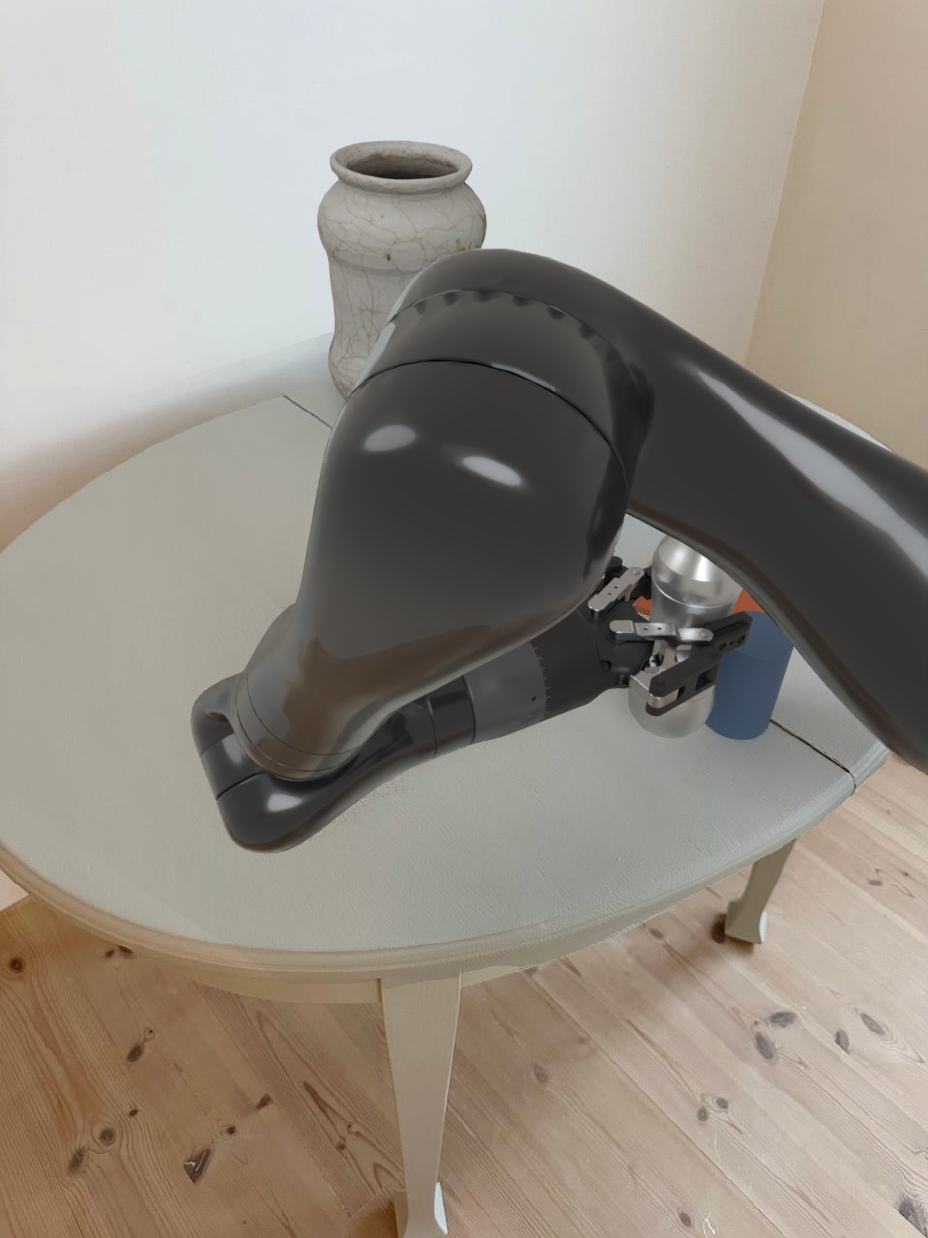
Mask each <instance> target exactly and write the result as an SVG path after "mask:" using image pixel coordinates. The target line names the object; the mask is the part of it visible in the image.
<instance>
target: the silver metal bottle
mask: <svg viewBox="0 0 928 1238" xmlns="http://www.w3.org/2000/svg"><path fill="white" fill-rule="evenodd" d="M651 564H652V585H651V608H650V615H648V621H649V622H650V623H673V624H675V626H676V627H677V628H704V625H706V624H709V623H711V622H714V621H717V620H719V619H722V618H725V617H728V616H730V614H731V612H732V610H733V608H734V606H735V604H736V601H737V599H738V597H739V595H740V592H741V591H742V587H740V586H739V585H738V584H737V583H736V582H735V581H734V580H733V579H732V578H731V577H729V576H728V575H727V574H726V573H725V572H724V571H722V570H721V569H720V568H718V567H717V566H716V565H714V564H713V563H712V562H710V561H709V560H708V559H706V558H705V557H704V556H702V555H701V554H699V553H697V552H696V551H694V550H693V549H691V548H690V547H688V546H686V545H685V544H683V543H682V542H680V541H678V540H676V539H674V538H672V537H670V536H668V535H666V534H665V535H664V536H663V537H662V538H661V540H660V542H659V543H658V545H657V547H656V549H655V551H654V552H653V556H652V562H651ZM661 642H662V641H661V640H655V645H654V650H653V654H652V655H655V654H657V653H658V652H659V651H660V647H661ZM691 646H692V645H681V646H679V647H677V650H691ZM714 695H715V685H713V686H712V687H710V688H708V689H706V690H705V691H703V692H701V693H699V694H698V695H696V696H694V697H692V698H691V699H689V700H687V701H685V702H684V703H682V704H680V705H678V706H677V707H675V708H673V709H671V710H670V711H668V712H666V713H664V714H663V715H661V716H651V715H649V714H648V713H647V712H646V710H645V707H646V702H647V700H646V699H644V698H643V697H642V696H641V695H640V694H638V693H637V692H636V691H635V690H634V689H632V688H631V687H630V688H627V699H628V700H627V702H628V709H629V712H630V713H631V715H632V716H633V718H634V719H635V721H636V722H637V724H638V725H639V726H640V727H641V728H642V729H643V730H645V731H646V732H648V733H650V734H651V735H653V736H657V737H660V738H664V739H681V738H684V737H687V736H689V735H691V734H693V733H696V732H698V730H700V729H702V728H703V726H704V725H705V724H706V723H705V722H706V720H707V718H708V716H709V714H710V713H711V711H712V708H713V706H714Z"/></svg>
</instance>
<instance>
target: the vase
mask: <svg viewBox="0 0 928 1238" xmlns="http://www.w3.org/2000/svg"><path fill="white" fill-rule="evenodd" d="M329 166H330V170H331V171H332V173H334V175H335V176H336V177H337V178H338V179H337V181H335V182H334V183H333V184H332V185H331V187H329V188H328V190H327V191H326V192H325V194H324V195H323V197H322V199H321V201H320V203H319V205H318V210H317V216H316V217H317V218H316V219H317V220H316V223H317V226H316V227H317V231H318V236H319V239H320V243H321V245H322V247H323V250H324V251H325V253H326V256H327V263H328V270H329V271H328V273H329V281H330V282H329V283H330V290H331V297H332V304H333V316H334V317H333V319H334V334H333V336H332V340H331V343H330V346H329V350H328V358H327V359H328V363H327V365H328V370H329V373H330V377H331V381H332V382H333V384H334V387H335V389H336V391H337V392H338V393H339V395H340V396H341V397H342V399H343V400H344V402H346V401H347V399H348V397H349V395H350V393H351V391H352V389H353V387H354V385H355V383H356V381H357V379H358V377H359V375H360V373H361V371H362V369H363V367H364V365H365V363H366V361H367V359H368V357H369V355H370V353H371V351H372V349H373V347H374V345H375V342H376V339H377V337H378V335H379V333H380V331H381V330H382V328H383V326H384V324H385V322H386V320H387V318H388V317H389V315H390V313H391V311H392V309H393V307H394V305H395V303H396V301H397V299H398V298H399V296H400V294H401V293H402V291H403V290H404V289H405V287H406V286H407V285H408V284H409V282H410V281H411V280H412V279H413V278H414V277H415V275H416V274H418V273H419V272H420V271H421V270H422V269H423V268H425V267H426V266H428V265H430V264H431V263H433V262H435V261H437V260H439V259H441V258H443V257H445V256H447V255H450V254H455V253H459V252H463V251H467V250H472V249H482V248H483V244H484V242H485V239H486V235H487V226H488V220H487V213H486V210H485V206H484V205H483V202H482V200H481V198H480V197H479V196H478V195H477V194H476V192H475V190H474V189H473V188H472V187H471V186H470V185H469V184H467V182H466V181H467V179H468V178H469V177H470V175H471V172H472V171H473V162H472V160H471V158H470V157H469V156H468V155H467V154H465V153H464V152H462V151H460V150H459V149H457V148H453V147H449V146H446V145H442V144H436V143H430V142H421V141H414V140H375V141H374V140H373V141H372V140H371V141H361V142H356V143H352V144H348V145H344V146H343V147H340V148H338V149H336V150H335V151H334V152H333V153H331V155H330V156H329Z"/></svg>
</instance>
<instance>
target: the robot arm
mask: <svg viewBox="0 0 928 1238" xmlns="http://www.w3.org/2000/svg"><path fill="white" fill-rule="evenodd" d="M314 500H315V501H314V505H313V511H312V518H311V523H310V529H309V534H308V539H307V545H306V552H305V557H304V564H303V570H302V574H301V579H300V586H299V590H298V593H297V596H296V599H295V602H294V603H292V604H290V605H288V606H287V607H286V608H285V609H284V610H283V611H282V612H281V613H280V614H279V615H278V616H277V617H276V618H275V619H274V620H273V621H272V623H271V624H270V625H269V626H268V628H267V629H266V631H265V633H264V634H263V636H262V638H261V639H260V641H259V643H258V644H257V645H256V648H255V649H254V651H253V653H252V654H251V657H250V659H249V660H248V662H247V665H246V666H245V668H244V669H243V670H242V671H240V672H239V673H236V674H233V675H230V676H229V677H226V678H223V679H221V680H219V681H218V682H216V683H214V684H212V685H210V686H209V687H208V688H206V689H205V690H204V691H202V693H200V695H198V697H197V698H196V700H195V701H194V703H193V706H192V709H191V712H190V713H191V715H190V727H191V734H192V738H193V742H194V745H195V748H196V751H197V753H198V757H199V759H200V762H201V765H202V767H203V770H204V773H205V776H206V779H207V781H208V784H209V787H210V789H211V790H210V791H211V792H212V795H213V798H214V800H215V804H216V807H217V811H218V813H219V816H220V819H221V822H222V824H223V827H224V829H225V832H226V833H227V836H228V837H229V839H230V840H231V842H232V843H233V844H234V845H236V846H237V847H239V848H241V849H242V850H245V851H248V852H251V853H255V854H264V855H270V854H278V853H282V852H287V851H289V850H291V849H294V848H296V847H298V846H300V845H301V844H303V843H305V842H306V841H308V840H309V839H311V838H313V837H314V836H315V835H317V834H318V833H319V832H321V831H322V830H323V829H325V828H326V827H328V825H330V824H331V823H332V822H333V821H334V820H336V819H337V818H338V817H340V816H341V815H343V813H345V812H346V811H347V810H349V808H351V807H352V806H353V805H355V804H356V803H358V802H359V801H360V800H362V799H363V798H364V797H366V796H367V795H369V794H370V793H372V792H374V790H376V789H378V788H379V787H381V786H382V785H384V784H385V783H387V782H389V781H391V780H393V779H395V778H396V777H398V776H400V775H401V774H403V773H405V772H408V771H409V770H411V769H413V768H416V767H419V766H420V765H423V764H425V763H428V762H430V761H433V760H435V759H439V758H440V757H443V756H446V755H449V754H451V753H453V752H456V751H459V750H461V749H464V748H466V747H468V746H472V745H476V744H479V743H482V742H487V741H488V742H489V741H492V740H496V739H499V738H503V737H507V736H509V735H511V734H514V733H517V732H520V731H522V730H524V729H527V728H529V727H533V726H535V725H537V724H540V723H542V722H545V721H547V720H551V719H552V718H555V717H557V716H561V715H563V714H565V713H568V712H572V711H573V710H576V709H578V708H581V707H584V706H586V705H589V704H591V702H593V701H594V700H596V699H597V698H598V697H600V695H602V694H603V693H605V692H606V691H608V690H612V689H613V690H614V689H619V690H620V689H622V690H623V689H625V690H626V689H628V688H630V687H631V688H632V689H634V690H635V691H636V692H637V693H638V694H640V695H641V696H642V697H643V698H644V699H646V700H647V702H646V707H645V710H646V712H647V713H648V714H649V715H651V716H661V715H663V714H664V713H666V712H668V711H670V710H671V709H673V708H675V707H677V706H678V705H680V704H682V703H684V702H685V701H687V700H689V699H691V698H692V697H694V696H696V695H698V694H699V693H701V692H703V691H705V690H706V689H708V688H710V687H712V686H713V685H715V684H716V681H717V677H718V673H719V669H720V665H721V661H722V657H723V653H726V652H728V651H731V650H733V649H736V648H739V647H741V646H743V645H744V644H745V643H746V642H747V639H748V635H749V632H750V628H751V624H752V621H753V618H752V617H751V616H750V615H749V614H748V613H746V612H745V611H741V612H738V613H736V614H733V615H730V616H728V617H725V618H722V619H719V620H717V621H714V622H711V623H709V624H706V625H704V628H677V627H676V626H675V624H673V623H650V622H649V619H647V618H645V617H644V616H642V615H640V614H639V613H638V611H637V610H636V609H635V607H634V606H635V605H636V604H637V603H638V602H639V600H640V597H641V596H642V597H643V598H645V599H646V600H650V599H651V585H652V566H651V567H649V566H647V567H645V568H641V567H639V566H630V567H627V566H625V565H624V563H623V559H622V558H621V557H619V556H617V555H614V554H615V551H616V549H617V546H618V543H619V540H620V537H621V534H622V530H623V527H624V523H625V518H626V517H625V516H626V515H628V516H630V517H631V518H634V519H636V520H638V521H640V522H641V523H643V524H646V525H647V526H648V527H651V528H653V529H655V530H657V531H659V532H660V533H663V534H665V536H666V535H668V536H670V537H672V538H674V539H676V540H678V541H680V542H682V543H683V544H685V545H686V546H688V547H690V548H691V549H693V550H694V551H696V552H697V553H699V554H701V555H702V556H704V557H705V558H706V559H708V560H709V561H710V562H712V563H713V564H714V565H716V566H717V567H718V568H720V569H721V570H722V571H724V572H725V573H726V574H727V575H728V576H729V577H731V578H732V579H733V580H734V581H735V582H736V583H737V584H738V585H739V586H740V587H742V588H743V589H744V590H745V591H746V592H747V593H748V594H749V595H750V596H751V597H752V599H753V600H754V601H755V602H756V603H757V604H758V605H759V606H760V607H761V608H762V609H763V610H764V612H765V613H766V614H767V615H768V616H769V617H770V618H771V619H772V620H773V622H774V623H775V624H776V625H777V626H778V628H779V629H780V630H781V631H782V633H783V634H784V635H785V636H786V638H787V639H788V640H789V641H790V642H791V644H792V645H793V646H794V647H793V648H794V649H795V650H796V651H797V653H798V654H799V655H800V656H801V657H802V658H803V660H804V661H805V663H807V665H808V666H809V667H810V668H811V670H812V671H813V672H814V673H815V674H816V675H817V677H818V678H819V679H820V680H821V682H822V683H823V684H824V685H825V686H826V687H827V689H828V690H829V691H830V692H831V693H832V694H833V695H834V696H835V697H836V699H838V701H839V702H840V703H841V704H842V705H843V706H844V707H845V708H846V709H847V711H848V712H849V713H850V714H851V715H852V716H854V718H855V719H856V720H857V721H858V722H859V723H860V724H861V725H862V726H863V727H864V728H865V729H866V730H867V731H868V732H869V733H870V734H871V735H872V736H873V737H874V738H875V739H876V740H878V742H879V743H881V744H882V746H884V747H885V748H886V749H887V750H888V751H890V752H891V753H892V754H893V755H895V756H896V757H897V758H898V759H900V760H901V761H903V762H905V763H906V764H908V765H909V766H911V767H913V768H914V769H916V770H917V771H919V772H921V773H922V774H924V775H926V776H928V469H926V468H924V467H923V466H921V465H919V464H917V463H915V462H913V461H912V460H909V459H907V458H906V457H904V456H901V455H899V454H897V453H895V452H893V451H892V450H889V449H887V448H885V447H883V446H881V445H879V444H877V443H875V442H873V441H871V440H869V439H867V438H865V437H864V436H861V435H860V434H858V433H856V432H855V431H854V432H853V430H850V429H848V428H847V427H845V426H842V425H841V424H839V423H837V422H835V421H834V420H833V419H830V418H828V417H827V416H825V415H823V414H821V413H820V412H818V411H816V410H815V409H813V408H811V407H809V406H808V405H805V404H804V403H802V402H801V401H799V400H798V399H796V398H795V397H793V396H791V395H790V394H788V393H786V392H784V391H783V390H781V389H780V388H778V387H776V386H774V385H773V384H771V383H769V382H768V381H766V380H765V379H764V378H762V377H760V376H758V375H757V374H756V373H754V372H752V371H750V370H749V369H748V368H746V367H745V366H743V365H741V364H740V363H738V362H737V361H734V360H733V359H732V358H730V357H729V356H727V355H725V353H722V352H721V351H719V350H718V349H716V348H715V347H713V346H712V345H710V344H708V343H706V342H705V341H704V340H702V339H700V338H699V337H697V336H696V335H694V334H692V333H691V332H690V331H688V330H687V329H685V328H684V327H682V326H680V325H678V324H677V323H675V322H674V321H672V320H671V319H669V318H667V317H666V316H665V315H663V314H661V313H659V312H658V311H656V310H655V309H653V308H652V307H650V306H648V305H647V304H645V303H643V302H642V301H640V300H638V299H636V298H635V297H633V296H631V295H630V294H628V293H626V292H624V291H623V290H622V289H619V288H617V287H616V286H614V285H613V284H611V283H609V282H607V281H605V280H603V279H601V278H599V277H598V276H595V275H593V274H591V273H590V272H589V273H588V272H587V271H584V270H583V269H581V268H578V267H576V266H573V265H571V264H568V263H566V262H562V261H561V260H557V259H555V258H553V257H550V256H545V255H541V254H536V253H533V252H532V253H531V252H527V251H521V250H517V249H514V248H513V249H512V248H481V249H472V250H467V251H463V252H459V253H455V254H450V255H447V256H445V257H443V258H441V259H439V260H437V261H435V262H433V263H431V264H430V265H428V266H426V267H425V268H423V269H422V270H421V271H420V272H419V273H418V274H416V275H415V277H414V278H413V279H412V280H411V281H410V282H409V284H408V285H407V286H406V287H405V289H404V290H403V291H402V293H401V294H400V296H399V298H398V299H397V301H396V303H395V305H394V307H393V309H392V311H391V313H390V315H389V317H388V318H387V320H386V322H385V324H384V326H383V328H382V330H381V331H380V333H379V335H378V337H377V339H376V342H375V345H374V347H373V349H372V351H371V353H370V355H369V357H368V359H367V361H366V363H365V365H364V367H363V369H362V371H361V373H360V375H359V377H358V379H357V381H356V383H355V385H354V387H353V389H352V391H351V393H350V395H349V397H348V399H347V401H345V403H344V405H343V406H342V407H341V409H340V411H339V412H338V415H337V417H336V419H335V422H334V424H333V426H332V427H331V430H330V433H329V437H328V439H327V442H326V446H325V450H324V453H323V458H322V464H321V468H320V474H319V479H318V485H317V490H316V495H315V499H314ZM655 640H661V641H662V642H661V647H660V651H659V652H658V653H657V654H655V655H652V654H653V650H654V645H655ZM681 645H692V646H691V650H677V647H679V646H681Z"/></svg>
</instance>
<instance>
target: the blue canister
mask: <svg viewBox="0 0 928 1238" xmlns="http://www.w3.org/2000/svg"><path fill="white" fill-rule="evenodd" d="M740 612H741V611H740ZM745 612H746V613H748V614H749V615H750V616H751V617H752V618H753V621H752V624H751V628H750V632H749V635H748V639H747V642H746V643H745V644H744V645H743V646H741V647H739V648H736V649H733V650H731V651H728V652H726V653H723V657H722V661H721V665H720V669H719V673H718V677H717V681H716V684H715V695H714V706H713V708H712V711H711V713H710V714H709V716H708V718H707V720H706V722H705V723H704V724H706V725H707V727H709V729H711V730H712V731H713V732H715V733H716V734H718V735H721V736H722V737H725V738H728V739H732V740H739V741H740V740H741V741H744V740H752V739H755V738H758V737H760V736H761V735H763V734H764V733H765V732H766V731H767V729H768V728H769V725H770V722H771V720H772V719H771V718H772V716H773V712H774V709H775V706H776V703H777V700H778V697H779V693H780V690H781V687H782V684H783V682H784V678H785V675H786V672H787V670H788V666H789V663H790V659H791V656H792V654H793V650H794V648H795V647H794V646H793V645H792V644H791V642H790V641H789V640H788V639H787V638H786V636H785V635H784V634H783V633H782V631H781V630H780V629H779V628H778V626H777V625H776V624H775V623H774V622H773V620H772V619H771V618H770V617H769V616H768V615H767V614H766V613H763V612H758V611H745ZM736 613H738V612H736ZM736 613H733V614H736ZM733 614H731V615H733Z"/></svg>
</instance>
